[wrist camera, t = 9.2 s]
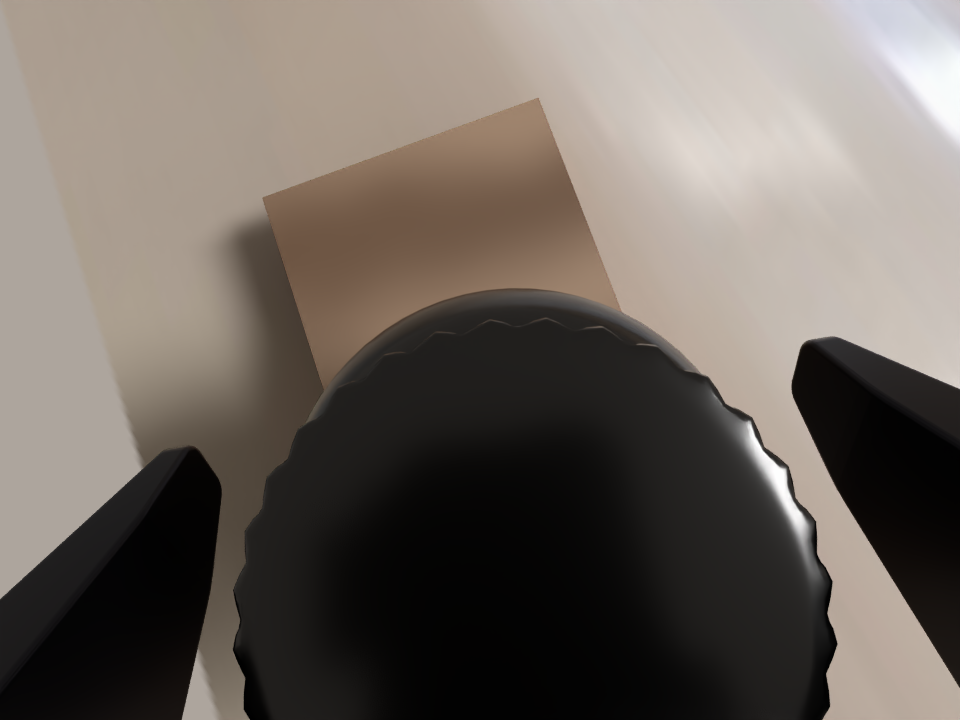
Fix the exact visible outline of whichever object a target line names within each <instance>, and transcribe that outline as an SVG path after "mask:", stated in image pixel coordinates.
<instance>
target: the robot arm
mask: <svg viewBox="0 0 960 720" xmlns="http://www.w3.org/2000/svg"><path fill="white" fill-rule="evenodd" d="M792 394H793V398H794V400H795V403H796V405H797V407H798V409H799V411H800V413H801V415H802V417H803V420H804V422H805V424H806V426H807V428H808V430H809V432H810V434H811V437H812V439H813V441H814V443H815V445H816V447H817V449H818V451H819V453H820V456H821V458H822V460H823V462H824V464H825V466H826V468H827V470H828V473H829V475H830V477H831V478H832V480H833V482H834V484H835V486H836V488H837V490H838V492H839V493H840V495H841V497H842V498H843V500H844V502H845V504H846V505H847V507H848V508H849V510H850V512H851V513H852V515H853V516H854V518H855V520H856V521H857V523H858V524H859V526H860V528H861V529H862V531H863V533H864V534H865V536H866V537H867V539H868V541H869V542H870V544H871V545H872V547H873V549H874V550H875V552H876V554H877V555H878V557H879V558H880V560H881V562H882V563H883V565H884V566H885V568H886V570H887V571H888V573H889V575H890V576H891V578H892V579H893V581H894V583H895V584H896V586H897V587H898V589H899V591H900V592H901V594H902V596H903V597H904V599H905V600H906V602H907V604H908V605H909V607H910V608H911V610H912V612H913V613H914V615H915V616H916V618H917V620H918V621H919V623H920V625H921V626H922V628H923V629H924V631H925V633H926V634H927V636H928V637H929V639H930V641H931V642H932V644H933V646H934V647H935V649H936V650H937V652H938V654H939V655H940V657H941V658H942V660H943V662H944V663H945V665H946V667H947V668H948V670H949V671H950V673H951V675H952V676H953V678H954V679H955V681H956V683H957V684H958V686H959V687H960V389H958V388H956V387H953V386H951V385H949V384H946V383H944V382H942V381H939V380H937V379H935V378H932V377H930V376H928V375H925V374H923V373H921V372H918V371H916V370H914V369H911V368H909V367H907V366H904V365H902V364H900V363H897V362H895V361H893V360H890V359H888V358H886V357H883V356H881V355H879V354H876V353H874V352H872V351H869V350H867V349H865V348H862V347H860V346H858V345H855V344H853V343H851V342H848V341H846V340H844V339H841V338H838V337H824V338H818V339H812V340H808V341H806V342H805V343H804V344H803V345H802V346H801V348H800V352H799V356H798V359H797V363H796V367H795V371H794V375H793V379H792ZM221 497H222V489H221V484H220V481H219V479H218V477H217V476H216V474H215V473H214V471H213V470H212V468H211V467H210V466H209V464H208V463H207V461H206V460H205V458H204V457H203V455H202V454H201V452H200V451H199V450H198V449H197V448H196V447H194V446H189V445H188V446H182V447H176V448H170V449H167V450H164V451H162V452H161V453H160V454H159V455H158V456H157V457H155V458H154V459H153V460H152V461H151V462H150V463H149V464H148V465H147V466H146V467H145V468H143V469H142V470H141V471H140V472H139V473H138V474H137V475H136V476H135V477H134V478H133V479H131V480H130V481H129V482H128V483H127V484H126V485H125V486H124V487H123V488H122V489H121V490H119V491H118V492H117V493H116V494H115V495H114V496H113V497H112V498H111V499H110V500H108V501H107V502H106V503H105V504H104V505H103V506H102V507H101V508H100V509H99V510H97V511H96V512H95V513H94V514H93V515H92V516H91V517H90V518H89V519H88V520H87V521H85V522H84V523H83V524H82V525H81V526H80V527H79V528H78V529H77V530H76V531H74V532H73V533H72V534H71V535H70V536H69V537H68V538H67V539H66V540H65V541H64V542H62V544H60V545H59V546H58V547H57V548H56V549H55V550H54V551H53V552H51V553H50V554H49V555H48V556H47V557H46V558H45V559H44V560H43V561H42V562H40V564H38V565H37V566H36V567H35V568H34V569H33V570H32V571H31V572H30V573H28V574H27V575H26V576H25V577H24V578H23V579H22V580H21V581H20V582H19V583H18V584H16V585H15V586H14V587H13V588H12V589H11V590H10V591H9V592H8V593H7V594H5V595H4V596H3V597H2V598H1V599H0V720H182V715H183V711H184V707H185V702H186V698H187V694H188V689H189V684H190V680H191V676H192V671H193V666H194V663H195V658H196V654H197V649H198V645H199V640H200V636H201V632H202V627H203V623H204V618H205V614H206V609H207V605H208V600H209V595H210V590H211V584H212V577H213V569H214V560H215V551H216V542H217V533H218V524H219V515H220V506H221Z"/></svg>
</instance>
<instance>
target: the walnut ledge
mask: <svg viewBox="0 0 960 720" xmlns="http://www.w3.org/2000/svg"><path fill="white" fill-rule="evenodd" d="M263 201H264V205H265V208H266V211H267V214H268V217H269V220H270V223H271V226H272V230H273V233H274V236H275V239H276V242H277V245H278V248H279V251H280V255H281V258H282V261H283V264H284V267H285V270H286V273H287V277H288V280H289V283H290V286H291V289H292V292H293V295H294V298H295V302H296V305H297V308H298V311H299V314H300V317H301V320H302V323H303V327H304V330H305V333H306V336H307V339H308V342H309V345H310V349H311V352H312V355H313V358H314V361H315V364H316V367H317V370H318V374H319V377H320V380H321V383H322V386H323V389H324V390H325V389H326V388H327V386H328V385H329V383H330V382H331V381H332V379H333V378H334V377H335V376H336V374H337V373H338V372H339V371H340V370H341V369H342V367H343V366H344V365H345V364H346V363H347V362H348V361H349V360H350V359H351V358H352V357H353V356H354V355H355V354H356V353H357V352H358V351H359V350H360V349H361V348H362V347H363V346H364V345H366V344H367V343H368V342H369V341H371V340H372V339H373V338H375V337H376V336H377V335H378V334H380V333H381V332H382V331H384V330H385V329H387V328H388V327H390V326H391V325H393V324H395V323H396V322H398V321H399V320H401V319H402V318H404V317H406V316H408V315H410V314H412V313H414V312H416V311H418V310H420V309H422V308H425V307H427V306H430V305H432V304H435V303H437V302H440V301H442V300H446V299H449V298H453V297H456V296H460V295H463V294H468V293H473V292H479V291H484V290H493V289H505V288H533V289H542V290H551V291H558V292H562V293H567V294H572V295H577V296H580V297H583V298H586V299H590V300H593V301H596V302H599V303H602V304H604V305H606V306H609V307H611V308H613V309H616V310H618V311H620V312H622V311H621V309H620V306H619V304H618V301H617V298H616V296H615V293H614V291H613V288H612V286H611V283H610V280H609V278H608V275H607V273H606V270H605V268H604V265H603V262H602V260H601V257H600V255H599V252H598V250H597V247H596V244H595V242H594V239H593V237H592V234H591V232H590V229H589V226H588V224H587V221H586V219H585V216H584V214H583V211H582V208H581V206H580V203H579V201H578V198H577V196H576V193H575V190H574V188H573V185H572V183H571V180H570V178H569V175H568V172H567V170H566V167H565V165H564V162H563V160H562V157H561V155H560V152H559V149H558V147H557V144H556V142H555V139H554V137H553V134H552V131H551V129H550V126H549V124H548V121H547V119H546V116H545V113H544V111H543V108H542V106H541V103H540V101H539V98H536V99H534V100H531V101H528V102H525V103H523V104H520V105H517V106H514V107H512V108H509V109H506V110H503V111H501V112H498V113H495V114H492V115H489V116H487V117H484V118H481V119H478V120H476V121H473V122H470V123H467V124H465V125H462V126H459V127H456V128H454V129H451V130H448V131H445V132H442V133H440V134H437V135H434V136H431V137H429V138H426V139H423V140H420V141H418V142H415V143H412V144H409V145H407V146H404V147H401V148H398V149H395V150H393V151H390V152H387V153H384V154H382V155H379V156H376V157H373V158H371V159H368V160H365V161H362V162H360V163H357V164H354V165H351V166H349V167H346V168H343V169H340V170H337V171H335V172H332V173H329V174H326V175H324V176H321V177H318V178H315V179H313V180H310V181H307V182H304V183H302V184H299V185H296V186H293V187H290V188H288V189H285V190H282V191H279V192H277V193H274V194H271V195H268V196H266V197H263Z"/></svg>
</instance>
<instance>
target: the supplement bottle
mask: <svg viewBox="0 0 960 720" xmlns="http://www.w3.org/2000/svg"><path fill="white" fill-rule="evenodd" d="M245 555H246V564H245V566H244V568H243V569H242V571H241V573H240V575H239V577H238V580H237V582H236V584H235V587H234V589H233V591H234V596H235V602H236V606H237V610H238V613H239V617H240V624H239V629H238V631H237V634H236V637H235V642H234V647H233V651H234V654H235V657H236V659H237V662H238V664H239V666H240V668H241V670H242V672H243V674H244V676H245V688H244V711H245V712H246V714H247V716H248V717H249V719H250V720H822V719H823V718H824V716H825V714H826V712H827V711H828V709H829V707H830V699H829V689H828V683H827V677H826V673H827V670H828V668H829V666H830V663H831V661H832V659H833V656H834V653H835V650H836V647H837V640H836V637H835V633H834V630H833V627H832V626H831V624H830V621H829V618H828V614H827V612H828V607H829V603H830V598H831V590H832V582H833V581H832V579H831V577H830V575H829V573H828V571H827V569H826V567H825V566H824V565H823V564H822V563H821V561H820V559H819V557H818V555H817V529H816V521H815V520H814V518H813V517H812V516H811V514H810V513H809V512H808V511H807V509H806V508H804V507H803V506H802V505H801V504H800V503H799V502H798V501H797V499H796V498H795V492H794V486H793V481H792V477H791V473H790V470H789V466H788V465H787V464H785V463H784V462H783V461H782V460H781V459H780V458H779V457H778V456H776V455H775V454H773V453H772V452H770V451H769V450H768V449H766V448H765V447H764V445H763V442H762V439H761V436H760V433H759V431H758V429H757V427H756V425H755V423H754V420H753V418H752V417H750V416H749V415H747V414H745V413H744V412H742V411H741V410H739V409H737V408H733V407H730V406H728V405H727V404H725V402H724V400H723V399H722V397H721V395H720V393H719V392H718V390H717V388H716V387H715V386H714V384H713V383H712V381H711V380H710V379H709V377H708V376H706V375H703V374H701V373H700V372H699V371H698V369H697V368H696V367H695V366H694V365H693V364H692V363H691V362H690V361H689V360H688V359H687V358H686V357H685V356H684V355H683V354H682V353H681V352H680V351H679V350H678V349H676V348H675V347H674V346H673V345H671V344H670V343H669V342H668V341H667V340H665V339H664V338H663V337H662V336H660V335H659V334H657V333H656V332H654V331H653V330H651V329H650V328H648V327H647V326H646V325H644V324H643V323H641V322H639V321H637V320H635V319H633V318H632V317H630V316H628V315H626V314H624V313H622V312H620V311H618V310H616V309H613V308H611V307H609V306H606V305H604V304H602V303H599V302H596V301H593V300H590V299H586V298H583V297H580V296H577V295H572V294H567V293H562V292H558V291H551V290H542V289H533V288H505V289H493V290H484V291H479V292H473V293H468V294H463V295H460V296H456V297H453V298H449V299H446V300H442V301H440V302H437V303H435V304H432V305H430V306H427V307H425V308H422V309H420V310H418V311H416V312H414V313H412V314H410V315H408V316H406V317H404V318H402V319H401V320H399V321H398V322H396V323H395V324H393V325H391V326H390V327H388V328H387V329H385V330H384V331H382V332H381V333H380V334H378V335H377V336H376V337H375V338H373V339H372V340H371V341H369V342H368V343H367V344H366V345H364V346H363V347H362V348H361V349H360V350H359V351H358V352H357V353H356V354H355V355H354V356H353V357H352V358H351V359H350V360H349V361H348V362H347V363H346V364H345V365H344V366H343V367H342V369H341V370H340V371H339V372H338V373H337V374H336V376H335V377H334V378H333V379H332V381H331V382H330V383H329V385H328V386H327V388H326V389H325V390H324V392H323V393H322V395H321V396H320V398H319V399H318V401H317V403H316V404H315V406H314V408H313V410H312V411H311V413H310V415H309V417H308V419H307V421H306V423H305V425H303V426H301V427H300V428H299V429H298V430H297V433H296V436H295V438H294V441H293V444H292V447H291V451H290V454H289V458H288V459H287V460H286V461H285V462H284V463H283V464H281V465H279V466H278V467H277V468H276V469H275V470H274V471H273V472H272V473H271V474H270V475H269V476H268V477H267V479H266V484H265V490H264V497H263V508H262V509H261V511H260V512H259V514H258V515H257V516H256V517H255V518H254V519H253V520H252V522H251V523H250V525H249V526H248V528H247V529H246V530H245Z"/></svg>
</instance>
